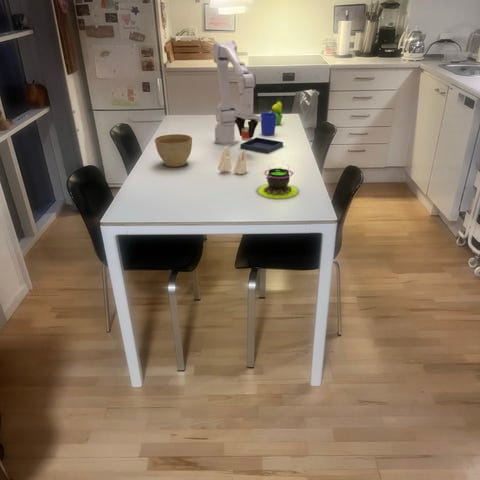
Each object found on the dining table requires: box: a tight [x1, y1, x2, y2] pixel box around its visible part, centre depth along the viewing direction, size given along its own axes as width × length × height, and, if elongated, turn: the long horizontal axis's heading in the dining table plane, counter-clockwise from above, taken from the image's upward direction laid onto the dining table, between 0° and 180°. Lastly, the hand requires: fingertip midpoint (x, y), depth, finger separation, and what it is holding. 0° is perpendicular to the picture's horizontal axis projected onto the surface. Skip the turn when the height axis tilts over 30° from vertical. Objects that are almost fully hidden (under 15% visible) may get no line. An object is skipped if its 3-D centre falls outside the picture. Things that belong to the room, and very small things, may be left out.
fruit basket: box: [263, 100, 283, 126], centre depth 267 cm, size 11×9×11 cm
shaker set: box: [217, 145, 248, 175], centre depth 198 cm, size 12×4×11 cm, turn 81°
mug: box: [260, 112, 277, 137], centre depth 249 cm, size 8×12×10 cm
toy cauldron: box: [258, 162, 298, 200], centre depth 180 cm, size 15×15×11 cm
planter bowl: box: [154, 133, 193, 168], centre depth 208 cm, size 16×16×11 cm
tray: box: [239, 137, 284, 154], centre depth 230 cm, size 15×14×2 cm
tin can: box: [241, 126, 253, 142], centre depth 216 cm, size 5×5×5 cm
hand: (246, 136), depth 217 cm, fingers closed on tin can, 5 cm apart
